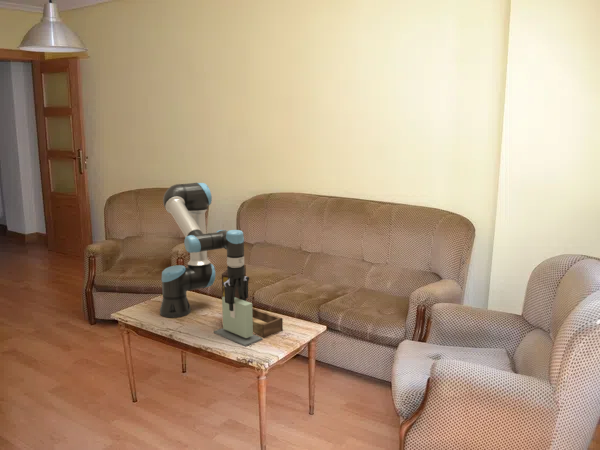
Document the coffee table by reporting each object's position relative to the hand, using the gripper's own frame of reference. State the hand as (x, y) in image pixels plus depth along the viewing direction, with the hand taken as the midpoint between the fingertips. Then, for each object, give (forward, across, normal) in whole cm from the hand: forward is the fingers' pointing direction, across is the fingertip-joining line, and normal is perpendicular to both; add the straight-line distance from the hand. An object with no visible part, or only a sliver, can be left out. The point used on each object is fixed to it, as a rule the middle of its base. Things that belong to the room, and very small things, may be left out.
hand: (237, 315), depth 238 cm
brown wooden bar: (+10, +9, 0) cm, 13 cm away
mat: (+10, 0, 0) cm, 10 cm away
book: (+10, +14, +18) cm, 25 cm away
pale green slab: (+8, 0, 0) cm, 8 cm away
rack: (+10, +13, 0) cm, 16 cm away
